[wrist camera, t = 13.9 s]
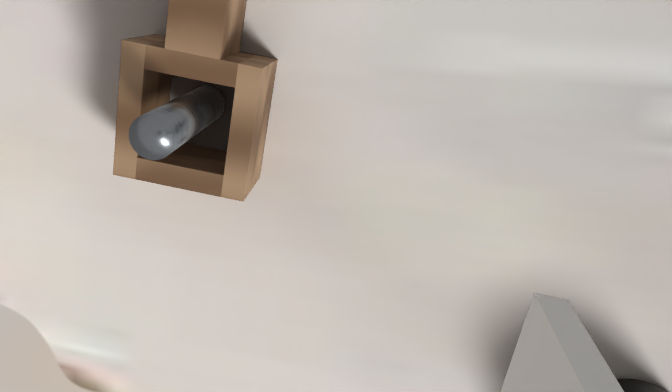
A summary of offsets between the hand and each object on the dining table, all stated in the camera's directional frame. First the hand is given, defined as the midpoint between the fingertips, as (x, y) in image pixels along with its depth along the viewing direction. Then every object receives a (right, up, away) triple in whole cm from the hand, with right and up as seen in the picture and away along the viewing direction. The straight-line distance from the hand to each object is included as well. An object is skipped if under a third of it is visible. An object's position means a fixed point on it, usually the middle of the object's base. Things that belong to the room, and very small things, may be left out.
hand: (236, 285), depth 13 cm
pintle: (-6, +8, +26) cm, 28 cm away
